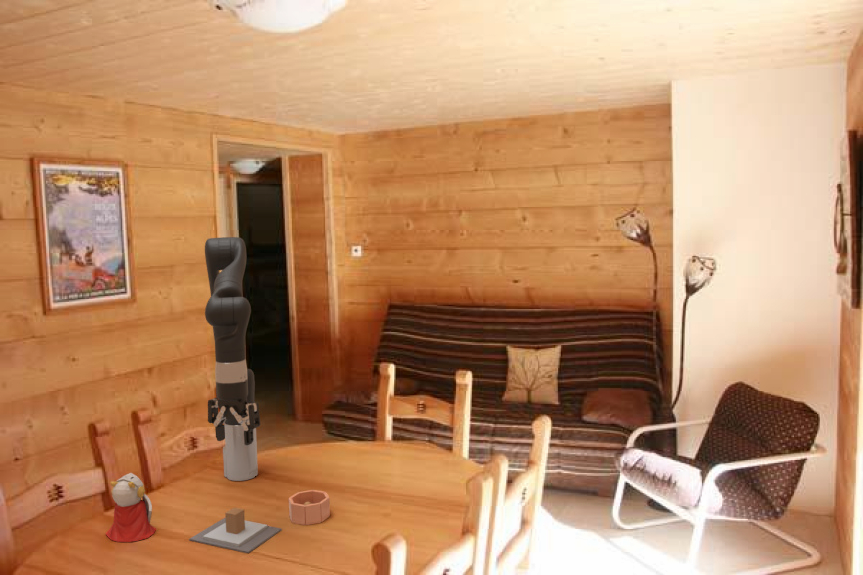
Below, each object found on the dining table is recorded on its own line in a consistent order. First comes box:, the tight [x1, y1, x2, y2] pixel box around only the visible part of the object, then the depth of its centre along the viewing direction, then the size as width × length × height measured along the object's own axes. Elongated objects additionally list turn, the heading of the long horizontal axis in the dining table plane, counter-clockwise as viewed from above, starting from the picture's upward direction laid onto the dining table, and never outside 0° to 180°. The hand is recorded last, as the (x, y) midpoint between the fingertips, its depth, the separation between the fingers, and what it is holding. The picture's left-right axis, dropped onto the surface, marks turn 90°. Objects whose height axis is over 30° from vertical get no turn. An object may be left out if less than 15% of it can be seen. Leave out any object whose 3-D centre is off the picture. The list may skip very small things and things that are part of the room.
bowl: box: [288, 489, 331, 526], centre depth 178 cm, size 10×10×5 cm
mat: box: [188, 517, 283, 554], centre depth 168 cm, size 18×13×1 cm
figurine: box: [105, 472, 157, 543], centre depth 171 cm, size 13×12×15 cm
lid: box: [203, 507, 269, 547], centre depth 168 cm, size 11×11×6 cm
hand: (234, 442), depth 167 cm, fingers open, 8 cm apart
